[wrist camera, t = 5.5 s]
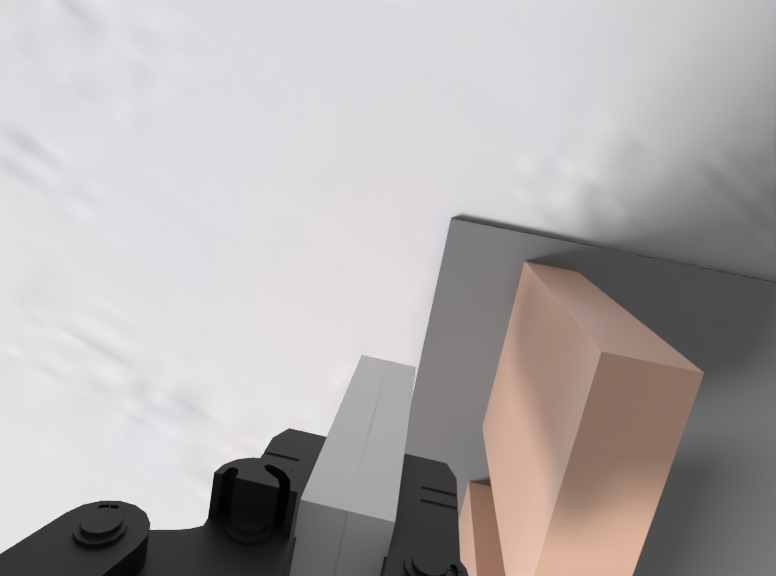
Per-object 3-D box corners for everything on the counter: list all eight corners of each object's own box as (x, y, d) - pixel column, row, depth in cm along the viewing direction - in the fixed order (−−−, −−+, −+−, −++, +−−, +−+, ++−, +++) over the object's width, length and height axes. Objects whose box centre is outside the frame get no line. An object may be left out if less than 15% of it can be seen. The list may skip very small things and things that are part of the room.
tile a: (524, 261, 20) (601, 351, 11) (581, 272, 20) (712, 374, 11) (482, 427, 22) (515, 637, 12) (535, 439, 22) (610, 659, 12)
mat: (451, 217, 21) (451, 218, 20) (994, 325, 20) (1005, 329, 19) (367, 603, 25) (366, 610, 25) (810, 708, 24) (816, 717, 24)
